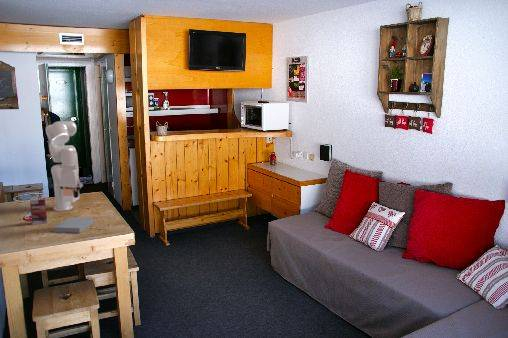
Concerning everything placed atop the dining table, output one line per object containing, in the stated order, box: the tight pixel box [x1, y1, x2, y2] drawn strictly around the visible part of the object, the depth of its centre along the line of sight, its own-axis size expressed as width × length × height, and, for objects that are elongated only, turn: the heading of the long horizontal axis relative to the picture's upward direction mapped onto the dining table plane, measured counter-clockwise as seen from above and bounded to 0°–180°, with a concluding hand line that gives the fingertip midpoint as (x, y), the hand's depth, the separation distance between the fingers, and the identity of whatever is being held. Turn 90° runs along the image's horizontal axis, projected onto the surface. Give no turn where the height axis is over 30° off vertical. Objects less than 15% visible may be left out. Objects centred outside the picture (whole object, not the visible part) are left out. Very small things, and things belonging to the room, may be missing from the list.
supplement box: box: [29, 197, 48, 226], centre depth 275 cm, size 9×5×16 cm, turn 117°
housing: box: [62, 185, 81, 203], centre depth 265 cm, size 6×8×8 cm
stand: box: [53, 217, 94, 234], centre depth 269 cm, size 18×16×3 cm
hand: (71, 196), depth 265 cm, fingers closed on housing, 6 cm apart
